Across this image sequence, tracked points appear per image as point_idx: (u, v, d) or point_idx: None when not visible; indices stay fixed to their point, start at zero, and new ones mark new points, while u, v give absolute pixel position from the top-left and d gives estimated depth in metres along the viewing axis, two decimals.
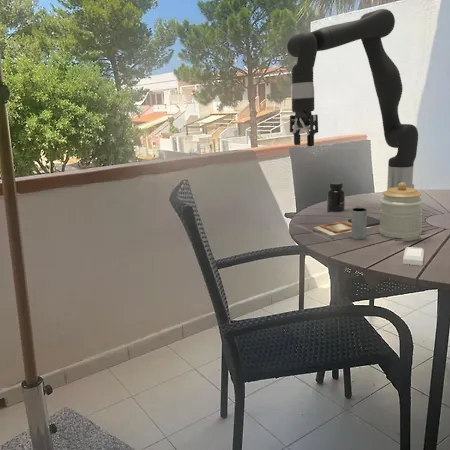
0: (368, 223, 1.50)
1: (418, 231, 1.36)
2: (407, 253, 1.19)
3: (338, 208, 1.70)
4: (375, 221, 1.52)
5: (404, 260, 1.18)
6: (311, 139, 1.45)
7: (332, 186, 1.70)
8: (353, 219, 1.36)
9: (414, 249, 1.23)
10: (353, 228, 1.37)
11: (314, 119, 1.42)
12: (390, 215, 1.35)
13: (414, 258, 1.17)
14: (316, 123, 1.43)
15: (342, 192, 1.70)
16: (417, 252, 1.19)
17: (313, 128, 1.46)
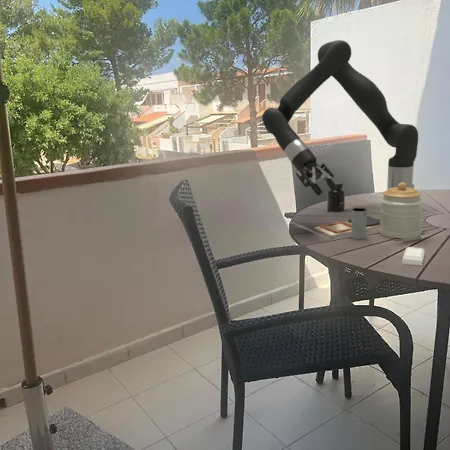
0: (368, 223, 1.50)
1: (418, 231, 1.36)
2: (407, 253, 1.19)
3: (338, 208, 1.70)
4: (375, 221, 1.52)
5: (403, 260, 1.18)
6: (314, 189, 1.41)
7: None
8: (353, 219, 1.36)
9: (414, 249, 1.23)
10: (353, 228, 1.37)
11: (299, 174, 1.42)
12: (390, 215, 1.35)
13: (413, 258, 1.17)
14: (303, 176, 1.41)
15: (342, 192, 1.70)
16: (417, 252, 1.19)
17: (312, 178, 1.42)
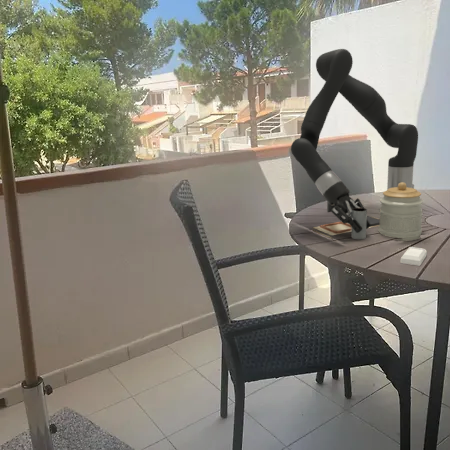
0: None
1: (418, 231, 1.36)
2: (406, 253, 1.20)
3: None
4: (375, 221, 1.52)
5: (401, 259, 1.18)
6: (353, 226, 1.35)
7: None
8: None
9: (416, 249, 1.23)
10: None
11: (336, 212, 1.35)
12: (390, 215, 1.35)
13: (411, 258, 1.17)
14: (341, 214, 1.35)
15: None
16: (417, 252, 1.19)
17: (349, 214, 1.36)
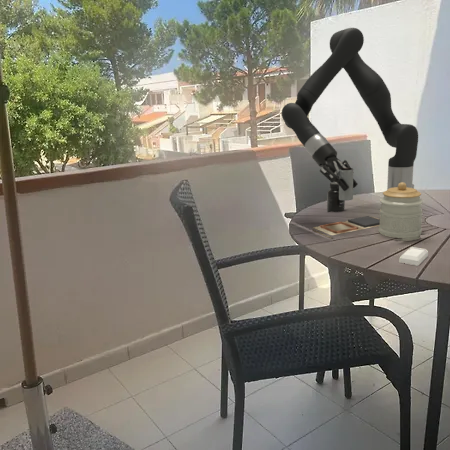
0: (368, 223, 1.50)
1: (418, 231, 1.36)
2: (405, 252, 1.20)
3: (338, 208, 1.70)
4: (375, 221, 1.52)
5: (400, 259, 1.19)
6: (340, 184, 1.42)
7: (332, 186, 1.70)
8: None
9: (417, 249, 1.22)
10: (340, 187, 1.44)
11: (324, 171, 1.42)
12: (390, 215, 1.35)
13: (410, 258, 1.17)
14: (328, 173, 1.42)
15: None
16: (417, 252, 1.19)
17: (337, 173, 1.43)
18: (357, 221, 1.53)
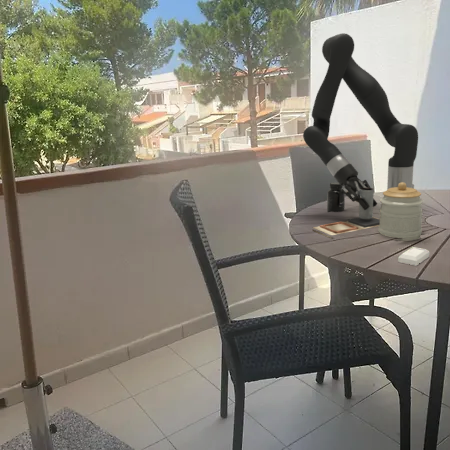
0: (368, 223, 1.50)
1: (418, 231, 1.36)
2: (405, 252, 1.20)
3: (338, 208, 1.70)
4: (375, 221, 1.52)
5: (399, 258, 1.19)
6: (361, 204, 1.49)
7: (332, 186, 1.70)
8: None
9: (418, 250, 1.22)
10: (361, 206, 1.51)
11: (346, 191, 1.49)
12: (390, 215, 1.35)
13: (408, 258, 1.17)
14: (350, 192, 1.49)
15: (342, 192, 1.70)
16: (417, 252, 1.19)
17: (358, 193, 1.50)
18: (357, 221, 1.53)
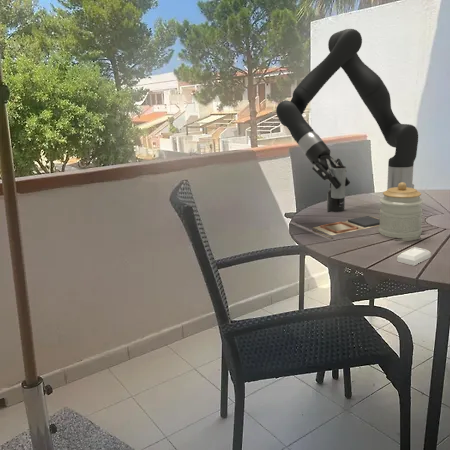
0: (368, 223, 1.50)
1: (418, 231, 1.36)
2: (405, 252, 1.20)
3: (338, 208, 1.70)
4: (375, 221, 1.52)
5: (398, 258, 1.19)
6: (332, 182, 1.43)
7: None
8: None
9: (419, 250, 1.22)
10: None
11: (317, 169, 1.43)
12: (390, 215, 1.35)
13: (407, 257, 1.18)
14: (321, 170, 1.42)
15: None
16: (416, 252, 1.19)
17: (329, 171, 1.43)
18: (357, 221, 1.53)
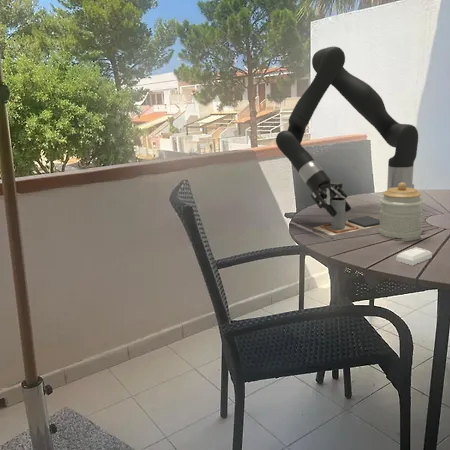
0: (368, 223, 1.50)
1: (418, 231, 1.36)
2: (404, 252, 1.20)
3: None
4: (375, 221, 1.52)
5: (397, 257, 1.20)
6: (328, 211, 1.44)
7: None
8: None
9: (420, 250, 1.22)
10: None
11: (314, 196, 1.45)
12: (390, 215, 1.35)
13: (405, 257, 1.18)
14: (318, 198, 1.44)
15: None
16: (416, 253, 1.19)
17: (326, 199, 1.45)
18: (357, 221, 1.53)
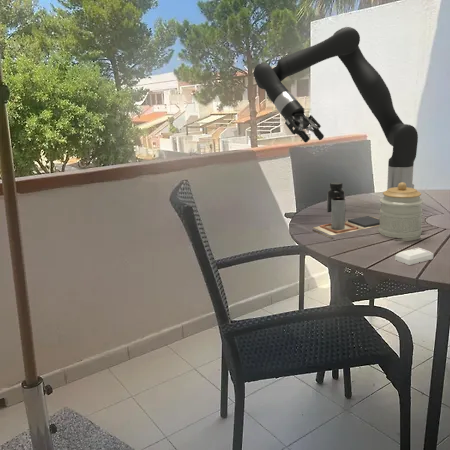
0: (368, 223, 1.50)
1: (418, 231, 1.36)
2: (404, 251, 1.21)
3: None
4: (375, 221, 1.52)
5: (396, 256, 1.21)
6: (301, 136, 1.51)
7: (332, 186, 1.70)
8: (333, 208, 1.47)
9: (422, 251, 1.21)
10: (333, 216, 1.48)
11: (288, 123, 1.51)
12: (390, 215, 1.35)
13: (403, 256, 1.18)
14: (291, 124, 1.51)
15: (342, 192, 1.70)
16: (415, 253, 1.19)
17: (299, 126, 1.51)
18: (357, 221, 1.53)
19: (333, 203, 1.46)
